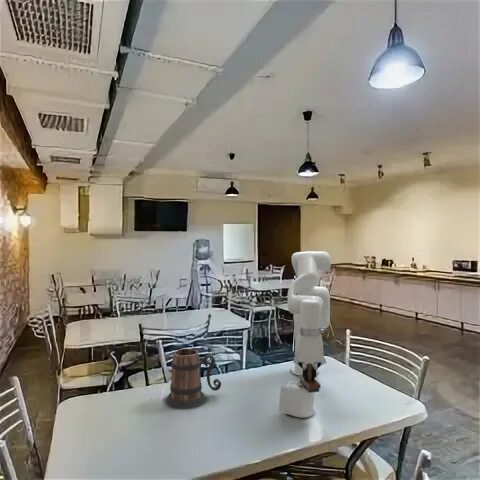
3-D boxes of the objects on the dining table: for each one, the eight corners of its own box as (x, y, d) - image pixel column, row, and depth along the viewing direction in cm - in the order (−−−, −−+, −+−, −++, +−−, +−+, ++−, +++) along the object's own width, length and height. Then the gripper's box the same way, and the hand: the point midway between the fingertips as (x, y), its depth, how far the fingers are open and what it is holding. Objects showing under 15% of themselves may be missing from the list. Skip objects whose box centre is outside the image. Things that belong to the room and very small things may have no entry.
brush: (298, 381, 162) (298, 359, 162) (309, 381, 163) (309, 358, 163) (309, 393, 152) (309, 369, 151) (320, 392, 153) (320, 368, 152)
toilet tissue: (318, 412, 159) (320, 387, 158) (300, 421, 150) (302, 395, 150) (295, 402, 166) (297, 378, 166) (277, 411, 158) (279, 385, 157)
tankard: (169, 411, 158) (169, 360, 158) (161, 394, 174) (161, 348, 173) (227, 402, 167) (227, 354, 166) (214, 387, 183) (214, 342, 182)
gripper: (329, 329, 160) (328, 376, 161) (288, 329, 161) (287, 375, 161) (332, 334, 153) (332, 383, 153) (289, 334, 153) (289, 382, 154)
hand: (309, 378), depth 157 cm, fingers closed on brush, 2 cm apart
